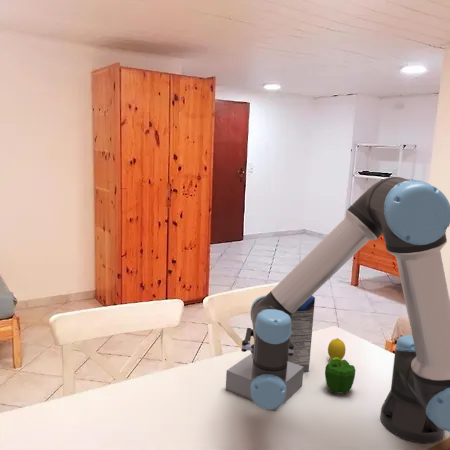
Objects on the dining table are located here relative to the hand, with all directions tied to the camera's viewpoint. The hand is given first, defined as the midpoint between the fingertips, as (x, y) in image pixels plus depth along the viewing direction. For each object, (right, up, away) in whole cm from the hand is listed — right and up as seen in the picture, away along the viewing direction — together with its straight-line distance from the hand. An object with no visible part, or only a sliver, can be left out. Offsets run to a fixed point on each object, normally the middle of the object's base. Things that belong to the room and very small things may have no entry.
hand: (267, 323), depth 131 cm
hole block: (-1, -18, -2) cm, 18 cm away
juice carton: (+9, -16, +13) cm, 22 cm away
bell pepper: (+20, -19, -1) cm, 28 cm away
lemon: (+24, -16, +16) cm, 33 cm away
